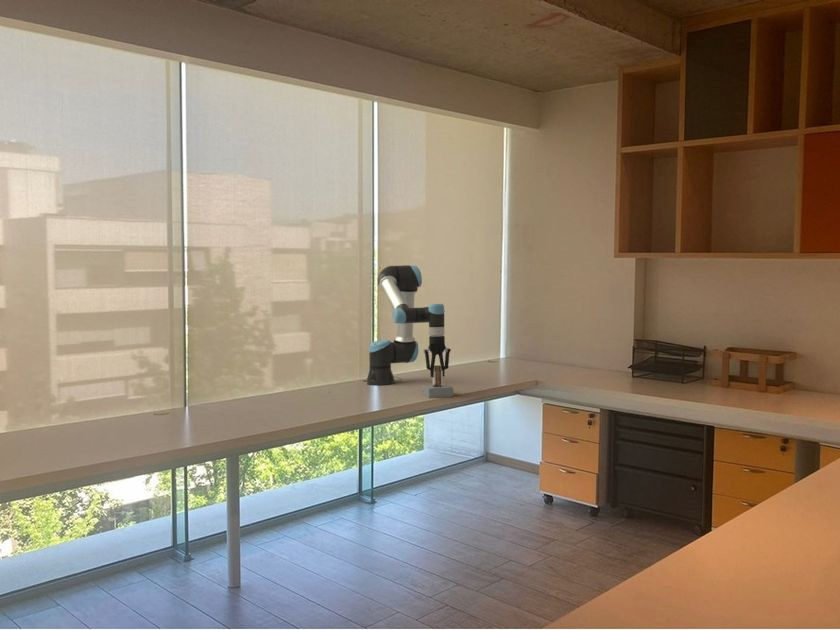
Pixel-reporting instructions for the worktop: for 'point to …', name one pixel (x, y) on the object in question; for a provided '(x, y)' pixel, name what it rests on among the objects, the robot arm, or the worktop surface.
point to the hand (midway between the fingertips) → (437, 383)
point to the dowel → (437, 375)
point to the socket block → (437, 391)
